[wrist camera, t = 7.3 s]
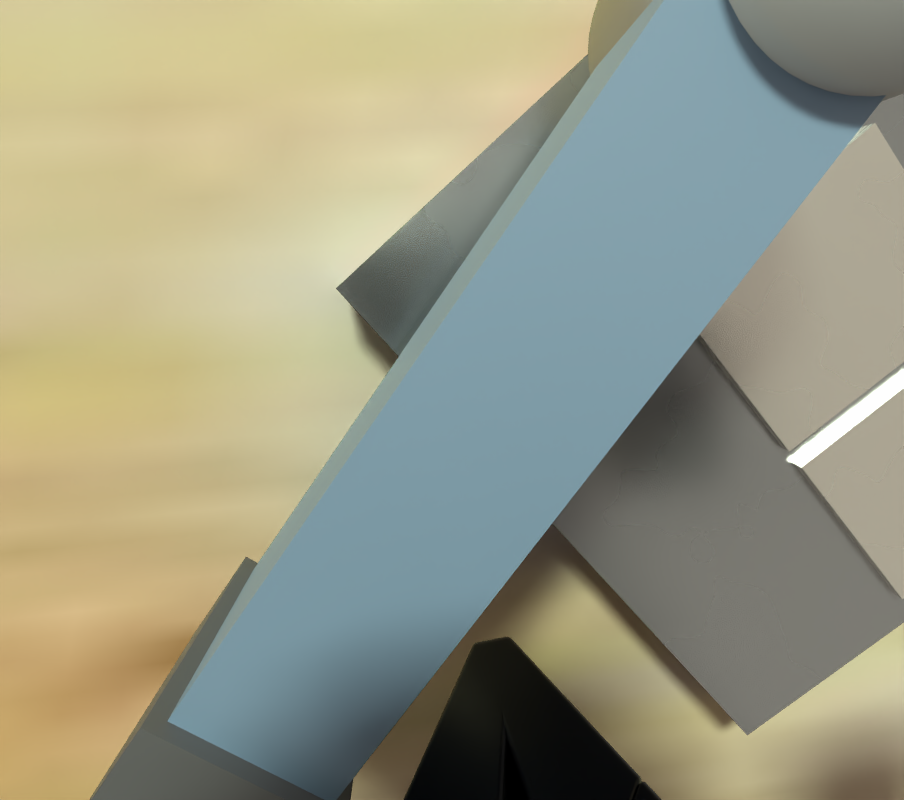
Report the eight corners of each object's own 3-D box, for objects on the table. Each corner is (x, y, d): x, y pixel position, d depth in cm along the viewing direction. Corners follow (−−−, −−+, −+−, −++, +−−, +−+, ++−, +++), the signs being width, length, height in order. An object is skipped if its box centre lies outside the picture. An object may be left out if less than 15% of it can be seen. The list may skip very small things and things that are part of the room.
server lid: (1196, 338, 11) (1365, 354, 9) (717, 692, 13) (773, 773, 11) (898, -227, 9) (1040, -376, 7) (346, 286, 10) (326, 289, 8)
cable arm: (338, 703, 10) (289, 949, 6) (181, 618, 9) (31, 834, 6) (850, 20, 8) (1212, -191, 4) (685, -136, 7) (939, -531, 4)
